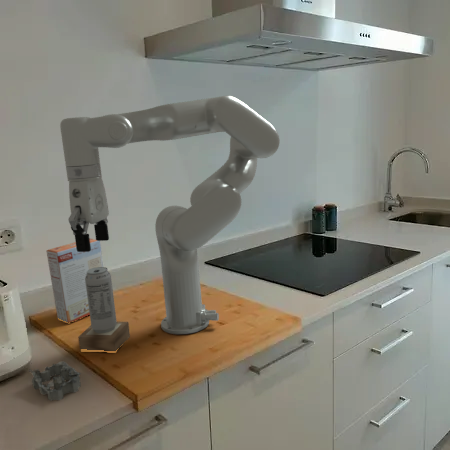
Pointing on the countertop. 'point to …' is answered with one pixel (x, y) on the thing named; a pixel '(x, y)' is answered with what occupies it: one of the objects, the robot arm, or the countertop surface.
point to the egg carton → (56, 380)
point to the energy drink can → (100, 299)
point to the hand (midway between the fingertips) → (93, 245)
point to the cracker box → (72, 278)
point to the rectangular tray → (105, 338)
